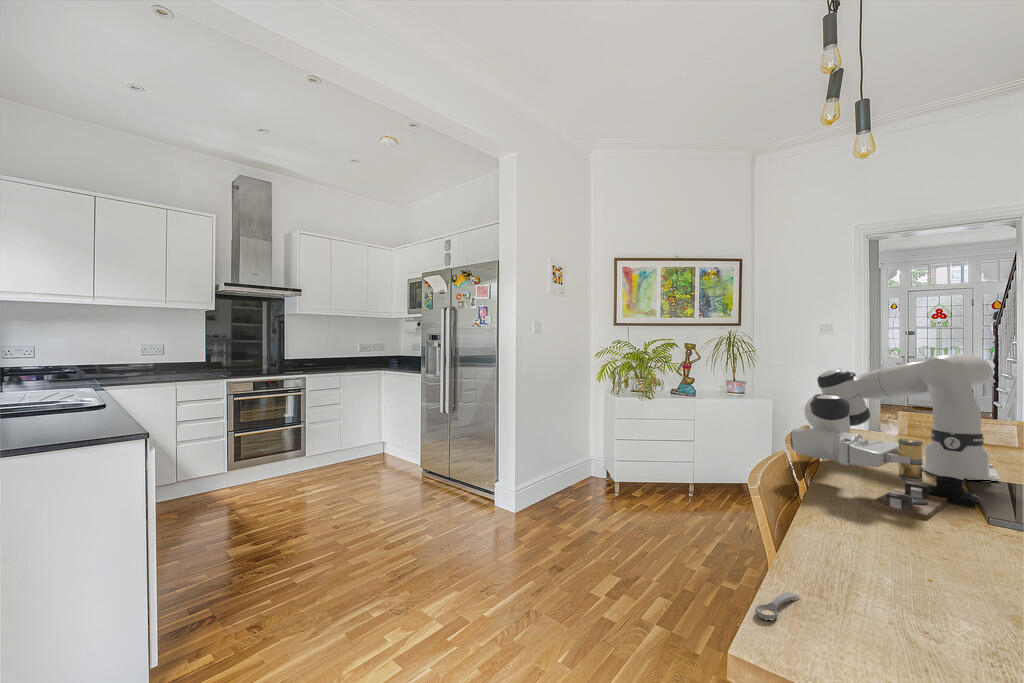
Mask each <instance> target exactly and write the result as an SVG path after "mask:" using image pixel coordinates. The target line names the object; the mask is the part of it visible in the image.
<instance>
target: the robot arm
mask: <svg viewBox="0 0 1024 683" xmlns="http://www.w3.org/2000/svg"><path fill="white" fill-rule="evenodd" d="M992 368H993V367H992V366H991V364H990V363H989V362H988V361H987V360H985V359H984V358H981V357H979V356H976V355H972V354H968V353H967V354H966V353H965V354H939V355H935V356H932V357H930V358H928V359H926V360H921V361H915V362H908V363H902V364H896V365H892V366H888V367H882V368H878V369H875V370H870V371H868V372H865V373H862V374H859V375H858V376H857V374H856V373H855V372H852V371H849V370H846V369H842V368H832V369H827V370H826V371H824V372H823V373H821V374H819V375H818V376H817V379H816V380H817V384H818V387H819V388H820V390H821V393H817V394H814V395H813V396H812V397H811V398H809V399H808V400H807V402H806V404H805V406H804V415H805V419H806V421H807V423H808V424H809V425H810V426H811V427H810V428H809V427H794V428H792V430H791V431H790V436H789V438H790V447H791V449H792V451H793V452H795V453H796V454H799V455H802V456H806V457H811V458H815V459H818V460H819V459H820V460H832V461H834V462H837V463H839V464H840V465H842V466H849V465H850V466H851V465H852V466H863V467H870V468H871V467H872V468H875V467H876V468H877V467H879V468H880V467H882V466H884V465H886V464H888V463H892V464H899V463H906V464H910V463H911V462H912V458H911V457H910V456H905V455H902V456H901V455H899V442H892V441H891V442H890V441H882V440H867V439H864V438H863V436H862V434H859V433H852V432H851V427H853V426H860V425H862V424H864V423H866V422H868V420H869V419H870V418H871V412H870V408H869V407H867V404H866V400H886V399H897V398H901V397H902V398H904V397H911V396H917V395H924V394H929V397H930V401H931V406H932V425H933V426H932V429H931V433H930V436H931V437H930V438H931V439H930V440H931V442H930V443H928V444H926V445H925V451H924V452H925V454H924V464H922V471H926V472H928V473H930V474H932V475H935V476H947V477H954V478H958V479H960V480H962V481H965V480H964V478H965V477H970V478H976V479H984V480H992V481H998V482H997V483H1000V481H1001V480H1000V477H999V475H998V473H997V471H996V469H995V468H993V464H990V453H989V452H988V451H987V450H986V449H985V448H984V446H983V445H985V444H984V440H985V439H984V438H985V437H984V434H983V433H982V422H981V421H982V414H981V413H982V412H981V407H980V405H979V404H978V403H977V401H976V399H975V396H974V393H973V389H972V388H977V387H979V386H981V385H983V384H985V383H986V382H988V381H989V380H990V378H991V377H992V375H993V369H992ZM865 399H866V400H865Z"/></svg>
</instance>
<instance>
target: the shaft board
mask: <svg viewBox="0 0 1024 683" xmlns="http://www.w3.org/2000/svg"><path fill="white" fill-rule="evenodd" d="M926 484H927V483H924V484H920V482H915V481H908V480H906V482H905V483H904V489H900V488H896V487H894V488H893V489H891V490H889V491H888V492H886V493H885V494H884V493H883V495H881V496H878V498H876V499H874V500H873V501H871V502H870V507H871V508H875V509H879V510H883V511H888V512H892V513H895V514H898V515H899V514H900V515H904V516H908V517H913V518H916V519H917V518H918V519H921V520H925V521H927V520H929V519H930V518H931V517H932V516H933V515H934V514H936V513H937V512H938V511H939V510H941V509H942V508H943V507H945V506H946V505H947V504H948V503H947V498H942V497H937V496H932V495H930V485H931V484H929V485H926Z"/></svg>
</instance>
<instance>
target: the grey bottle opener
mask: <svg viewBox="0 0 1024 683" xmlns="http://www.w3.org/2000/svg"><path fill="white" fill-rule="evenodd" d="M791 592H792V591H791ZM791 592H790V591H786V592H783V593H782V594H780V595H778V596H776V597H775V598H774V599H773V600H772V601H770V602H769V603H766V604H759V605H757V606H755V609H754V610H755V614H756V616H757V615H758V616H759V617H758V616H757V617H758V618H760V619H761V618H763V619H767V620H770V619H775V618H776V619H778V617H779V612H778V611H779V610H778V608H779V607H780V606H781V605H782V604H784V603H788V602H790V601H791V600H792V601H794V600H793V599H796V598H798V597H799V598H800V596H799V595H798V594H796V593H795V592H792V593H791ZM759 610H760V611H759ZM765 610H769V611H772V612H773V613H774V615H765V614H762V611H765ZM763 619H762V620H763ZM776 619H775V620H776Z"/></svg>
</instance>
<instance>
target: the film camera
mask: <svg viewBox="0 0 1024 683" xmlns="http://www.w3.org/2000/svg"><path fill="white" fill-rule="evenodd" d="M919 483H920V482H919ZM935 483H936V484H935V485H933V484H928V483H925V482H924V483H923V482H922V483H920V484H926V485H930V495H932V496H937V497H942V498H947V504H949V505H956V506H960V507H961V506H962V507H966V508H972V509H973V508H975V507H976V505H977V504H978V503H977V500H978V498H980V497H979V494H978V493H976V492H973V491H968V490H965V489H964V488H963V486H964V482H963V480H960V479H958V478H954V477H947V476H939V475H937V476H936V478H935ZM978 501H979V500H978Z"/></svg>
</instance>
